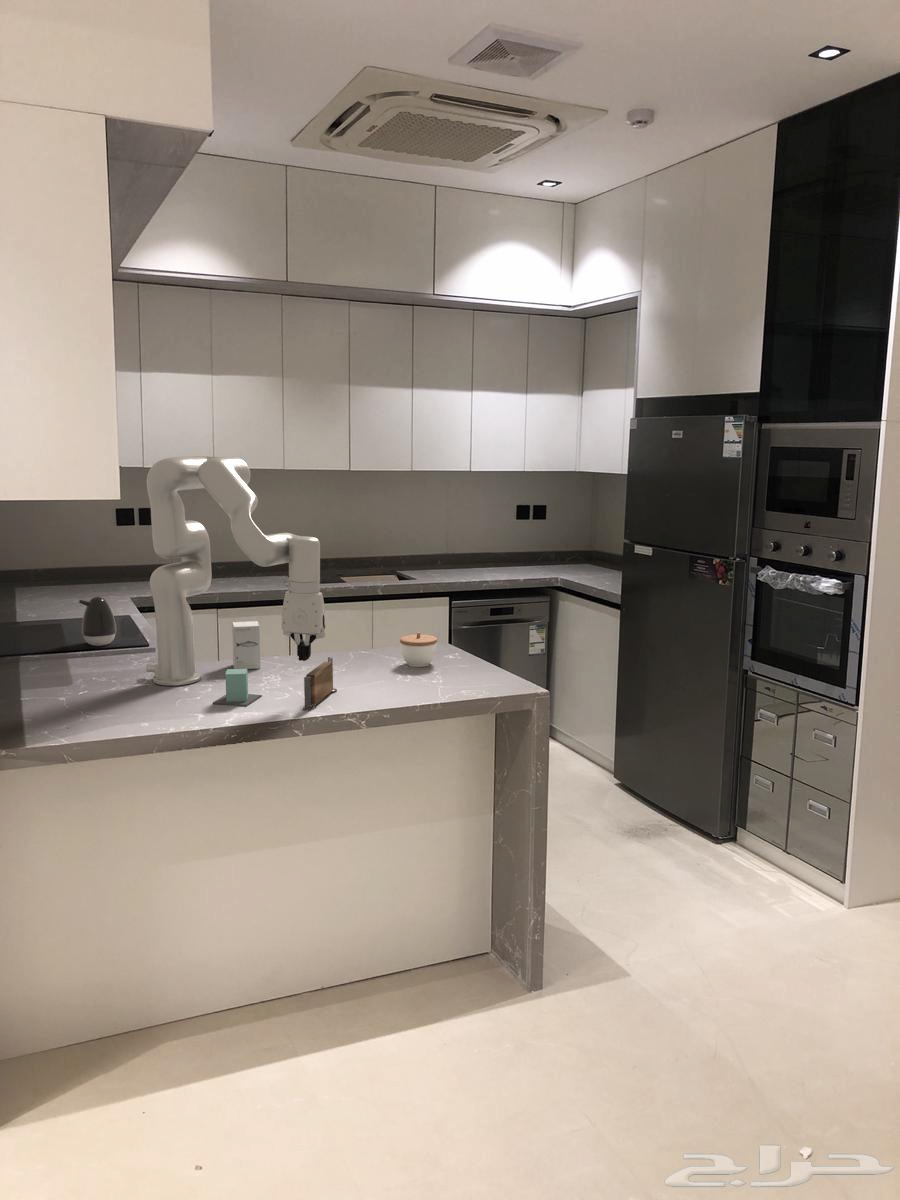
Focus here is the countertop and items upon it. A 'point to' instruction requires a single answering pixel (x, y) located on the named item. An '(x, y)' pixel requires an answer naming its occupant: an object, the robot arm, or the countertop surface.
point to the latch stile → (308, 693)
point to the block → (236, 685)
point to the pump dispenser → (98, 622)
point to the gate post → (332, 673)
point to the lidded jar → (418, 649)
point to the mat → (238, 703)
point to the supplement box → (246, 645)
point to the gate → (321, 681)
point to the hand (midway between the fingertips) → (303, 659)
